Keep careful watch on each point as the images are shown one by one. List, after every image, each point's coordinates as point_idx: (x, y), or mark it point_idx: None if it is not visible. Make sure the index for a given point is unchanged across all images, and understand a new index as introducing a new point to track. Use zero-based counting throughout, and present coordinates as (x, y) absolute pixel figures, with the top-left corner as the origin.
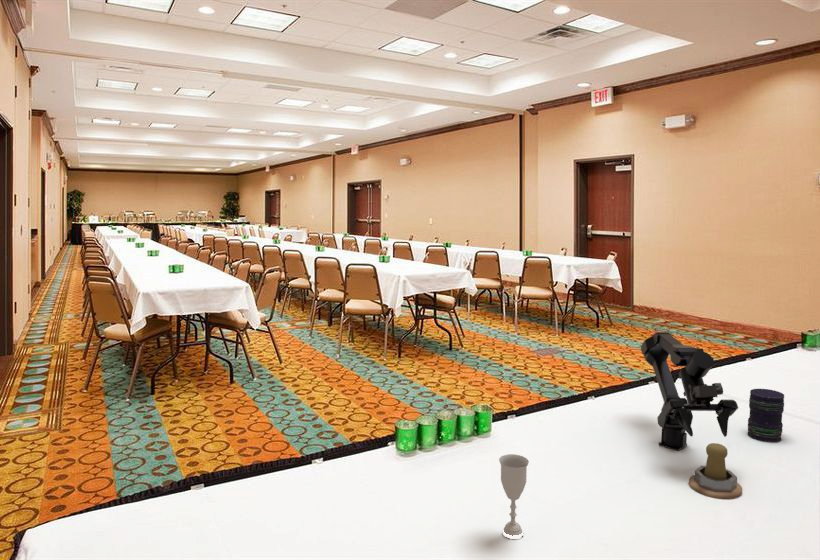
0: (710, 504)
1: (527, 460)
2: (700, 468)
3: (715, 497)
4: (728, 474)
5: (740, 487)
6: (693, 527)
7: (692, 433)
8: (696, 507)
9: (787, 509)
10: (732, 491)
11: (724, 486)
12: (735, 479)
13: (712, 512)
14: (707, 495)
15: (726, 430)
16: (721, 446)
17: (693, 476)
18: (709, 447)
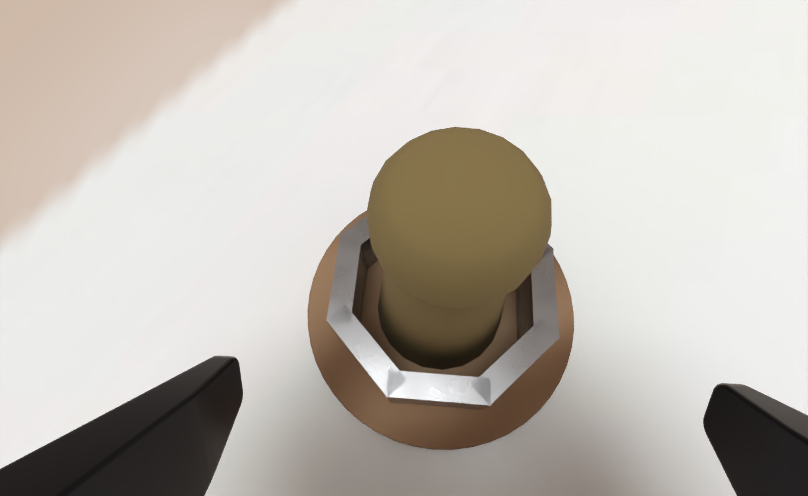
0: (531, 161)
1: None
2: (511, 359)
3: None
4: (355, 299)
5: (327, 262)
6: (650, 32)
7: (742, 390)
8: (599, 141)
9: (243, 125)
10: None
11: None
12: (360, 223)
13: (548, 109)
14: None
15: (166, 390)
16: (432, 158)
17: (524, 404)
18: (542, 186)
